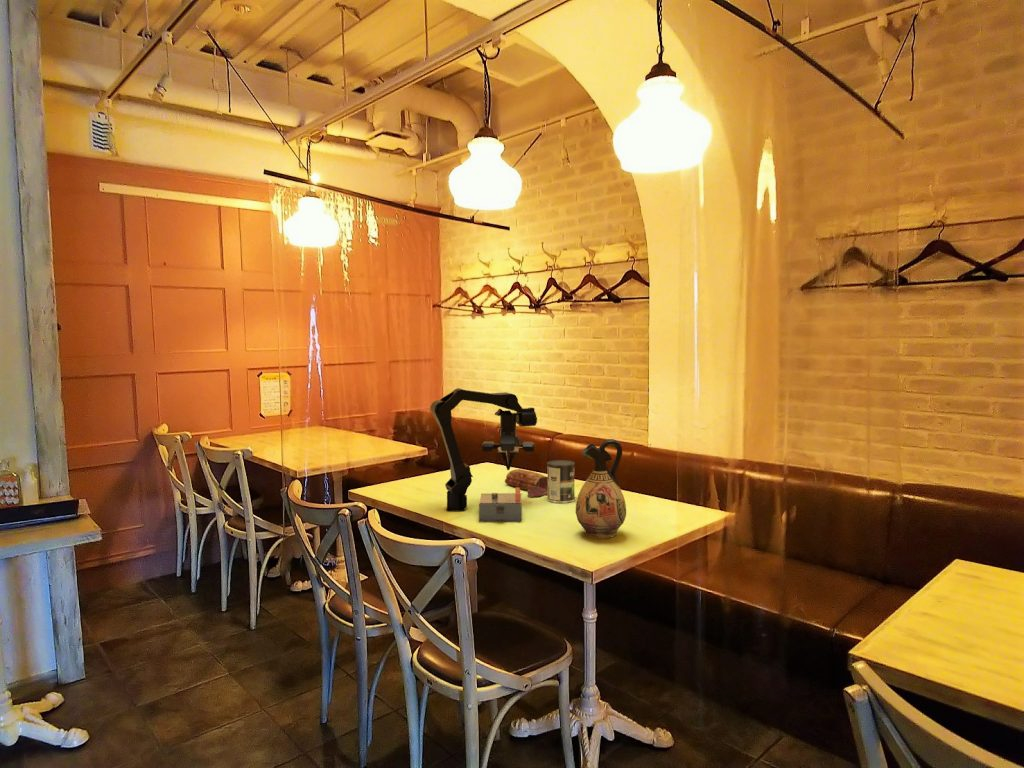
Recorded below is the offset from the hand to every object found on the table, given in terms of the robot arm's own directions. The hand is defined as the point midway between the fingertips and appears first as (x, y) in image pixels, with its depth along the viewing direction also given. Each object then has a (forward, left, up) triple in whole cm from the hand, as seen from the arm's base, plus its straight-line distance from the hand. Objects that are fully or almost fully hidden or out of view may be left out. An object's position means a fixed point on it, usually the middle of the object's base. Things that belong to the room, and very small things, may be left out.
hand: (508, 469), depth 233 cm
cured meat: (+9, +21, -13) cm, 27 cm away
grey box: (-2, -16, -12) cm, 20 cm away
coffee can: (+20, +5, -13) cm, 24 cm away
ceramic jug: (+30, -37, -13) cm, 49 cm away
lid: (-2, -16, -7) cm, 18 cm away
